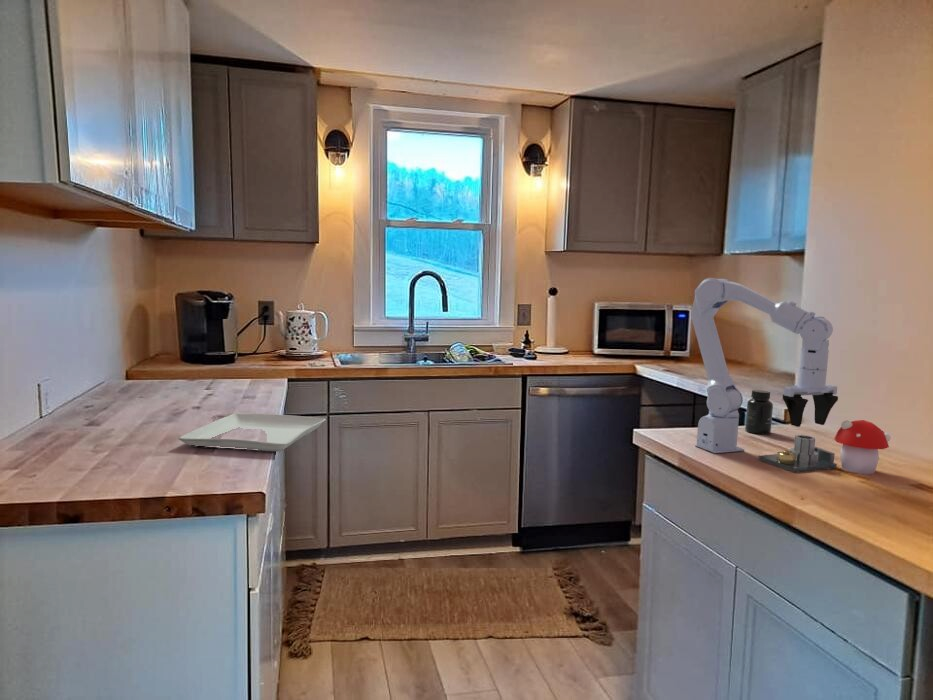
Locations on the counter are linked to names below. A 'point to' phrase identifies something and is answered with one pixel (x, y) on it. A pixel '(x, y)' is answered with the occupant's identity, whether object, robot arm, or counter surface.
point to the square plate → (275, 426)
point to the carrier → (789, 463)
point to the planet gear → (804, 449)
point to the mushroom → (861, 445)
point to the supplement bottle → (759, 413)
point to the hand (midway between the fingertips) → (807, 425)
